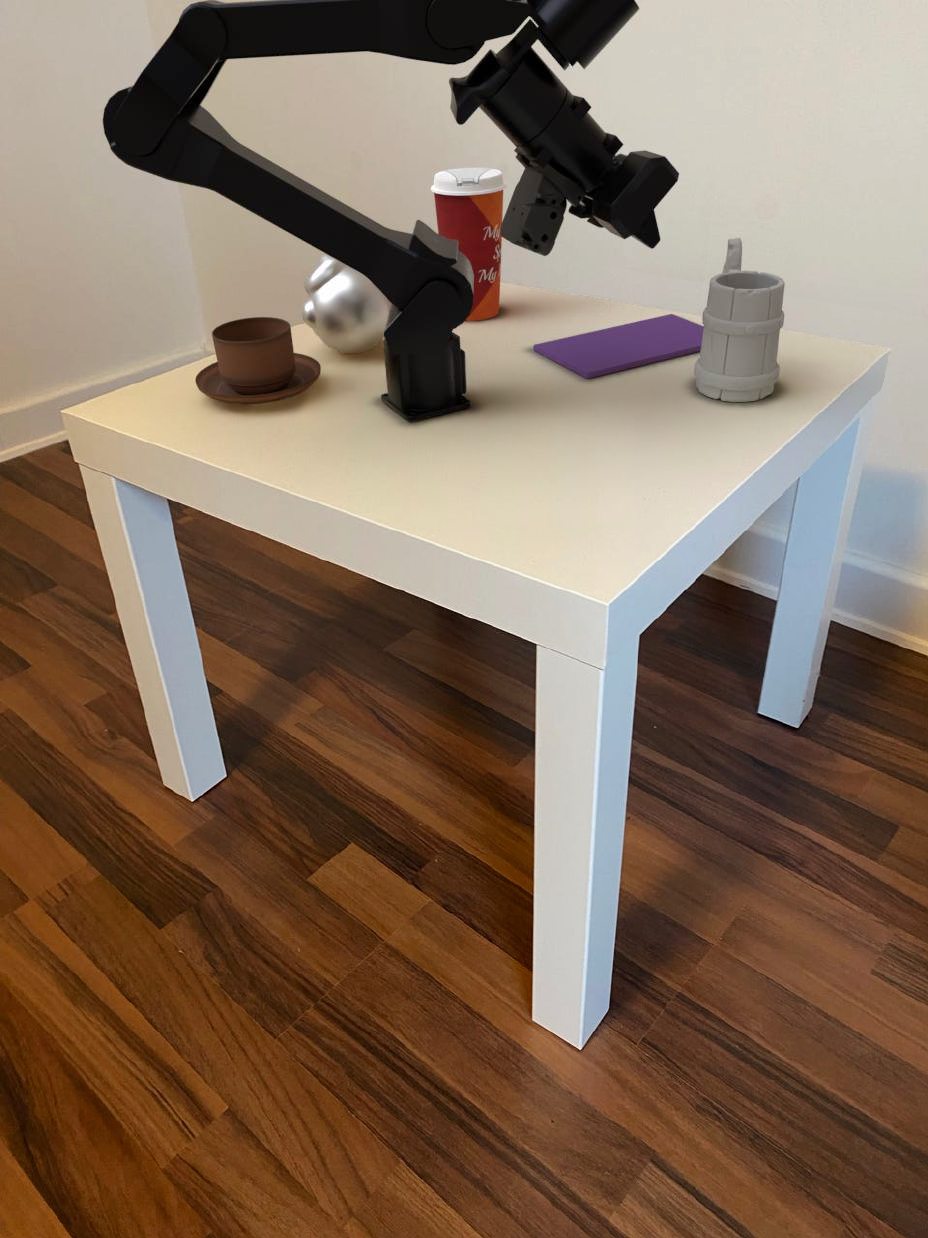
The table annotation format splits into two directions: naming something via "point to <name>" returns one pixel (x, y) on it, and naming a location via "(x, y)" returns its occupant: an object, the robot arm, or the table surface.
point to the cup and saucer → (256, 363)
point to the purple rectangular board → (625, 345)
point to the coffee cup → (474, 228)
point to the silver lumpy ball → (344, 307)
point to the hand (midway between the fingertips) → (655, 243)
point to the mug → (740, 332)
